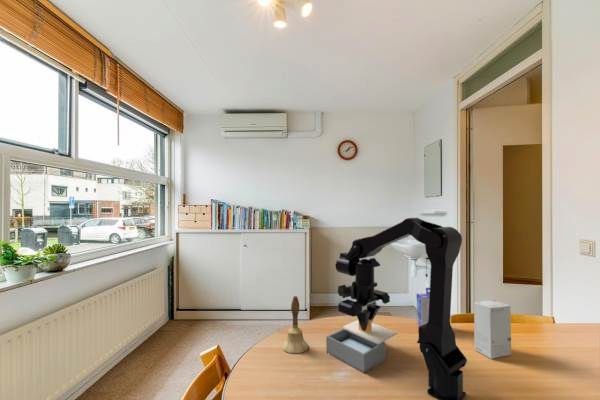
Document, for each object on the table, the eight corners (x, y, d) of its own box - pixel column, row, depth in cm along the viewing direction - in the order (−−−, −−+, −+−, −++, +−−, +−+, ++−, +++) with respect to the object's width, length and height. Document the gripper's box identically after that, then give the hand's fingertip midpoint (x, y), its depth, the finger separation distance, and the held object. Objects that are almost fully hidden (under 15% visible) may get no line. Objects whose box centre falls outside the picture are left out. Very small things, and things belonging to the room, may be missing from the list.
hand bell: (288, 339, 96) (287, 291, 96) (311, 343, 93) (311, 294, 93) (277, 351, 88) (277, 299, 89) (303, 356, 86) (302, 302, 86)
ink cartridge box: (443, 326, 105) (443, 286, 105) (450, 333, 99) (450, 291, 99) (416, 325, 106) (415, 286, 106) (421, 332, 100) (421, 291, 100)
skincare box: (491, 359, 83) (490, 308, 83) (473, 349, 88) (472, 301, 88) (512, 355, 85) (512, 305, 85) (493, 345, 91) (493, 298, 91)
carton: (385, 359, 83) (385, 342, 83) (364, 373, 77) (363, 354, 77) (347, 341, 94) (347, 326, 94) (326, 352, 87) (326, 336, 87)
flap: (396, 334, 88) (396, 319, 88) (378, 344, 81) (378, 328, 81) (361, 320, 98) (360, 306, 98) (342, 328, 92) (342, 314, 92)
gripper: (362, 269, 101) (362, 314, 101) (324, 279, 89) (325, 329, 88) (390, 275, 92) (390, 324, 92) (353, 287, 80) (353, 343, 80)
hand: (365, 329), depth 88 cm, fingers closed on flap
